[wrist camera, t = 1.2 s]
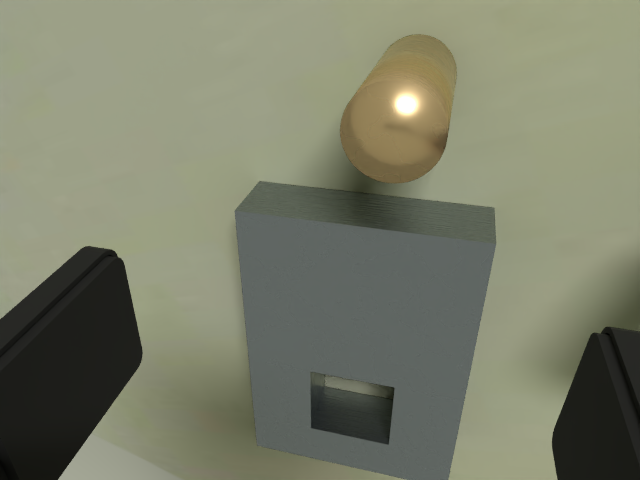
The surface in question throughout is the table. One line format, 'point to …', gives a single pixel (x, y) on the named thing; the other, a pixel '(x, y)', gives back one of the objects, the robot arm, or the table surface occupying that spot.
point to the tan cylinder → (402, 111)
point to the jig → (362, 322)
